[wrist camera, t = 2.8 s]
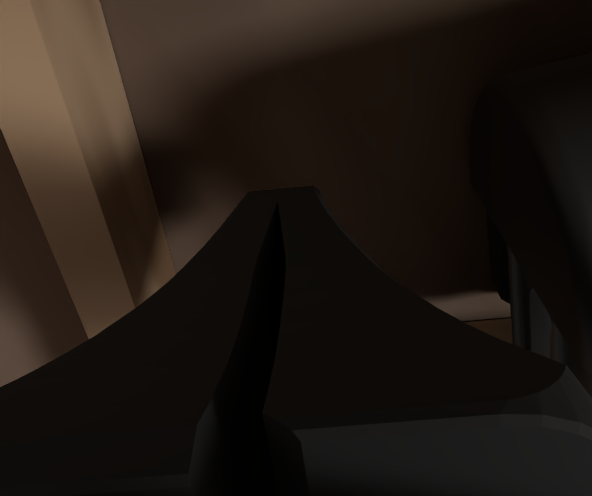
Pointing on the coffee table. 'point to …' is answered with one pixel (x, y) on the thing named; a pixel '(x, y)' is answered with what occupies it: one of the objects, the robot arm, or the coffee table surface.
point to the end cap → (540, 204)
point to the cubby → (88, 159)
